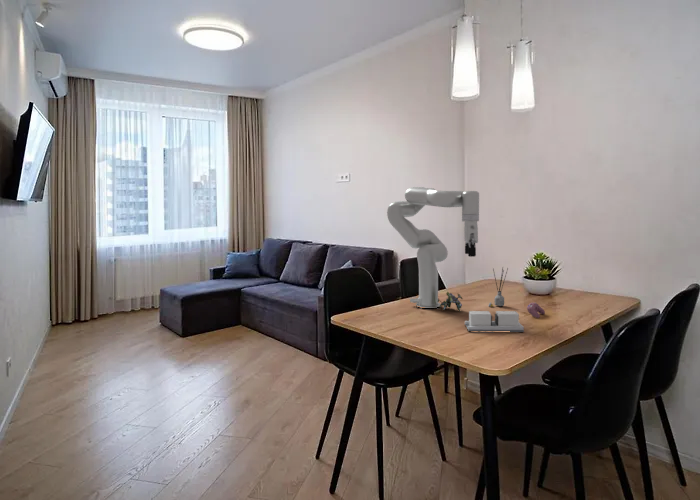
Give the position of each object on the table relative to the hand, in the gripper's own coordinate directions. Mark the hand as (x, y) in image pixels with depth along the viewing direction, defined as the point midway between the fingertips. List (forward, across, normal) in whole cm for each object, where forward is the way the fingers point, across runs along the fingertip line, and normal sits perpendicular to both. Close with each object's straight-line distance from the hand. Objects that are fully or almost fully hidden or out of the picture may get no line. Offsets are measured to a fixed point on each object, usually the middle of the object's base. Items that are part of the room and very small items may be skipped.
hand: (470, 255), depth 207 cm
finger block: (+27, -23, 0) cm, 36 cm away
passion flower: (+29, +7, +8) cm, 31 cm away
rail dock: (+28, -23, -6) cm, 37 cm away
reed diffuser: (+28, +16, -17) cm, 37 cm away
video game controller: (+29, 0, -30) cm, 41 cm away
